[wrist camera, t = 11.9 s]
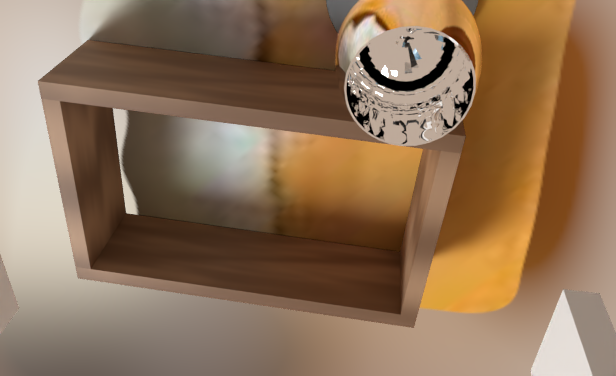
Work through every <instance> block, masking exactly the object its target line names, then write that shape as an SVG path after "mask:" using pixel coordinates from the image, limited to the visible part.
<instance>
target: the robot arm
mask: <svg viewBox="0 0 616 376" xmlns="http://www.w3.org/2000/svg"><path fill="white" fill-rule="evenodd" d="M18 309H19V307H18V304H17V301H16V298H15V295H14V292H13V290H12V287H11V284H10V281H9V278H8V275H7V272H6V269H5V266H4V264H3V261H2V258H1V255H0V334H1V333H2V331H3V330H4V328H5V327H6V326H7V324H8V323H9V321H10V320H11V319H12V317H13V316H14V315H15V313H16V312H17V311H18ZM531 374H532V376H616V332H615V330H614V327H613V325H612V322H611V320H610V318H609V315H608V313H607V310H606V308H605V305H604V303H603V301H602V298H601V295H600V293H592V292H583V291H574V290H565V289H563V291H562V294H561V296H560V299H559V302H558V304H557V306H556V309H555V311H554V314H553V317H552V319H551V321H550V324H549V326H548V329H547V331H546V334H545V337H544V339H543V341H542V344H541V346H540V349H539V351H538V354H537V356H536V359H535V361H534V364H533V366H532V369H531Z"/></svg>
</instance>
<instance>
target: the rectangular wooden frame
mask: <svg viewBox="0 0 616 376" xmlns="http://www.w3.org/2000/svg"><path fill="white" fill-rule="evenodd" d="M38 85H39V89H40V94H41V99H42V104H43V109H44V114H45V118H46V124H47V129H48V134H49V139H50V143H51V148H52V153H53V158H54V163H55V168H56V172H57V178H58V183H59V188H60V193H61V197H62V202H63V207H64V212H65V217H66V222H67V227H68V232H69V237H70V241H71V247H72V251H73V256H74V261H75V266H76V271H77V276H78V278H80V279H87V280H94V281H100V282H108V283H115V284H121V285H128V286H134V287H141V288H148V289H155V290H162V291H169V292H175V293H182V294H188V295H195V296H202V297H209V298H216V299H222V300H229V301H236V302H243V303H249V304H257V305H263V306H270V307H277V308H283V309H290V310H297V311H303V312H310V313H317V314H324V315H331V316H337V317H345V318H351V319H358V320H364V321H371V322H378V323H385V324H391V325H398V326H406V327H412V328H414V325H415V321H416V317H417V314H418V310H419V307H420V303H421V299H422V296H423V292H424V288H425V285H426V281H427V277H428V274H429V270H430V266H431V263H432V259H433V255H434V251H435V248H436V244H437V240H438V237H439V233H440V229H441V226H442V222H443V218H444V215H445V211H446V207H447V204H448V200H449V196H450V193H451V189H452V185H453V182H454V178H455V174H456V170H457V167H458V163H459V159H460V156H461V152H462V148H463V145H464V141H465V137H466V135H465V130H464V126H463V121H461V122H460V123H459V124H458V126H457V127H456V128H455V129H453V130H452V131H450V132H449V133H448V134H446V135H445V136H443V137H442V138H439V139H437V140H435V141H432V142H430V143H426V144H421V145H417V146H407V147H415V148H422V149H423V152H422V157H421V161H420V165H419V170H418V174H417V179H416V183H415V188H414V192H413V196H412V201H411V205H410V210H409V214H408V218H407V223H406V227H405V232H404V236H403V241H402V245H401V249H400V252H397V251H390V250H383V249H376V248H368V247H361V246H354V245H347V244H340V243H333V242H326V241H319V240H312V239H305V238H297V237H290V236H283V235H276V234H269V233H262V232H255V231H248V230H241V229H234V228H226V227H219V226H212V225H205V224H198V223H191V222H184V221H177V220H170V219H162V218H155V217H148V216H141V215H134V214H127V213H126V210H125V202H124V194H123V186H122V179H121V171H120V163H119V155H118V147H117V139H116V131H115V125H114V116H113V108H116V109H124V110H132V111H139V112H147V113H155V114H162V115H170V116H178V117H185V118H193V119H201V120H208V121H216V122H224V123H231V124H239V125H246V126H254V127H262V128H269V129H277V130H285V131H292V132H300V133H308V134H315V135H323V136H331V137H338V138H346V139H353V140H361V141H369V142H376V143H384V144H388V143H385V142H382V141H379V140H377V139H376V138H374V137H372V136H370V135H369V134H367V133H366V132H365V131H364V130H362V129H361V128H360V127H359V126H358V124H357V123H356V122H355V121H354V119H353V118H352V116H351V114H350V112H349V110H348V108H347V106H346V104H345V101H344V99H343V97H342V95H341V92H340V89H339V85H338V81H337V76H336V71H333V70H325V69H317V68H309V67H301V66H292V65H284V64H276V63H268V62H260V61H252V60H244V59H236V58H228V57H220V56H212V55H204V54H196V53H188V52H180V51H172V50H164V49H156V48H148V47H140V46H132V45H124V44H116V43H108V42H100V41H92V40H87V41H86V42H85V43H84V44H83V45H81V46H80V47H79V48H78V49H76V50H75V51H74V52H73V53H72V54H70V55H69V56H68V57H67V58H65V59H64V60H63V61H62V62H61V63H59V64H58V65H57V66H56V67H55V68H53V69H52V70H51V71H50V72H48V73H47V74H46V75H45V76H43V77H42V78H41V79H40V80H39V81H38Z"/></svg>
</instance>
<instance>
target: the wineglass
mask: <svg viewBox="0 0 616 376" xmlns="http://www.w3.org/2000/svg"><path fill="white" fill-rule="evenodd" d="M481 67H482V44H481V39H480V34H479V30H478V27H477V24H476V21H475V19H474V17H473V15H472V13H471V11H470V10H469V8H468V7H467V6H466V4H465V3H464V2H463V1H462V0H358V1H357V2H356V3H355V4H354V5H353V6H352V8H351V9H350V10H349V12H348V13H347V15H346V17H345V19H344V21H343V22H342V25H341V27H340V30H339V33H338V37H337V42H336V49H335V69H336V76H337V81H338V85H339V89H340V92H341V95H342V97H343V99H344V101H345V104H346V106H347V108H348V110H349V112H350V114H351V116H352V118H353V119H354V121H355V122H356V123H357V124H358V126H359V127H360V128H361V129H362V130H364V131H365V132H366V133H367V134H369V135H370V136H372V137H374V138H376V139H377V140H379V141H382V142H385V143H388V144H392V145H399V146H417V145H421V144H426V143H430V142H432V141H435V140H437V139H439V138H442V137H443V136H445V135H446V134H448V133H449V132H450V131H452V130H453V129H455V128H456V127H457V126H458V124H459V123H460V122H461V121H462V120H463V119H464V118H465V116H466V114H467V113H468V111H469V109H470V107H471V106H472V103H473V100H474V97H475V94H476V92H477V88H478V84H479V79H480V75H481Z"/></svg>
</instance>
